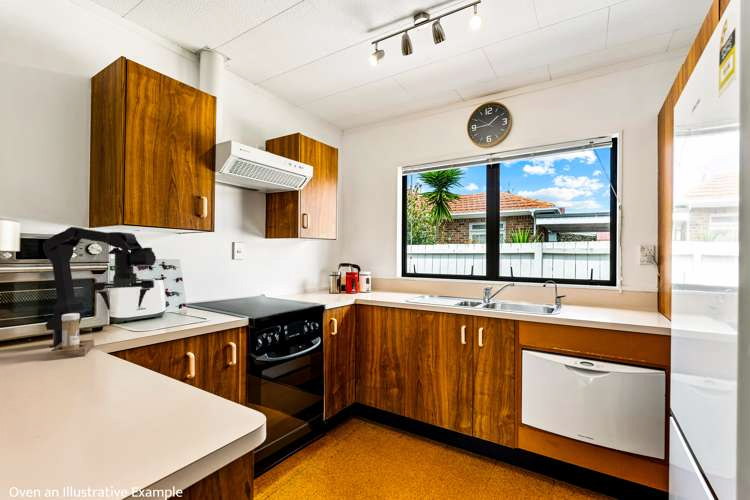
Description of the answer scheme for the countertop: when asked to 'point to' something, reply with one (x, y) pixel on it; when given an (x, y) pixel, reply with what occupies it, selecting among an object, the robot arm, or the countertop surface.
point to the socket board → (71, 350)
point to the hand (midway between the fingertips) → (124, 308)
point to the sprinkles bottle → (70, 331)
